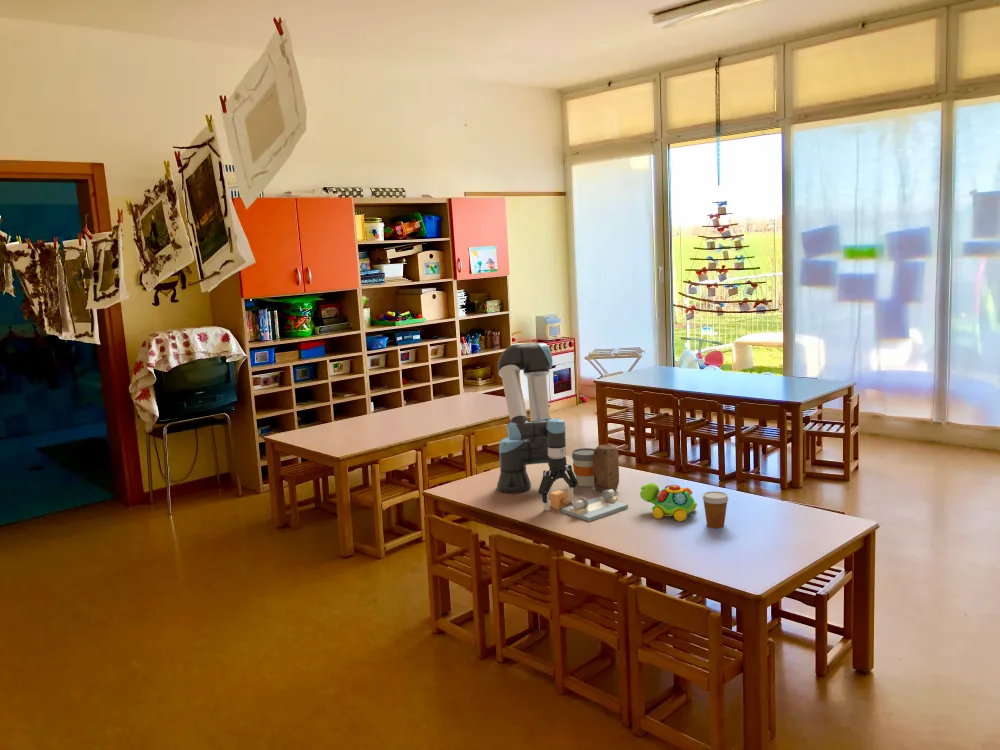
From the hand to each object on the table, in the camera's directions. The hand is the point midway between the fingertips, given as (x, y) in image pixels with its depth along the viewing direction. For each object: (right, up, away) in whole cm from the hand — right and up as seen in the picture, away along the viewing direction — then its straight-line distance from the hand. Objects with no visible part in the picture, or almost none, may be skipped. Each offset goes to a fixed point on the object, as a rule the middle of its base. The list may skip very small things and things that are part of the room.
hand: (558, 506), depth 330 cm
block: (+22, +4, +19) cm, 29 cm away
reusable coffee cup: (+15, +5, +29) cm, 33 cm away
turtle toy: (+43, -1, -14) cm, 45 cm away
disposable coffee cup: (+57, -3, -30) cm, 64 cm away
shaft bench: (+14, -1, -6) cm, 16 cm away
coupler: (0, 0, 0) cm, 0 cm away
